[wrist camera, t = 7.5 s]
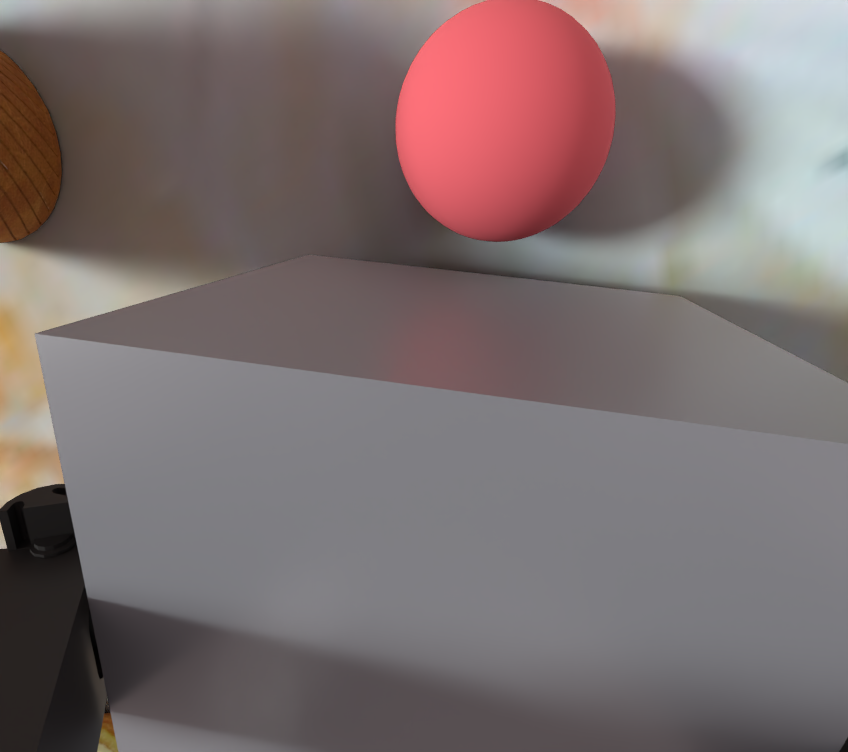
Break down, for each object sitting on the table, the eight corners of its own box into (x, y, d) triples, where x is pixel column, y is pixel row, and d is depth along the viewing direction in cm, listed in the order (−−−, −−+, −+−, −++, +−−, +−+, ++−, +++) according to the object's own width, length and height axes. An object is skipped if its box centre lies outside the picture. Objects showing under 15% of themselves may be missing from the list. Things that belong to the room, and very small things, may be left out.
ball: (660, 105, 8) (646, -47, 10) (359, 84, 8) (409, -57, 11) (580, 293, 12) (583, 158, 14) (387, 272, 13) (418, 145, 15)
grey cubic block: (596, 594, 16) (698, 988, 8) (306, 544, 17) (138, 851, 9) (680, 295, 13) (1009, 465, 5) (308, 254, 14) (34, 333, 6)
